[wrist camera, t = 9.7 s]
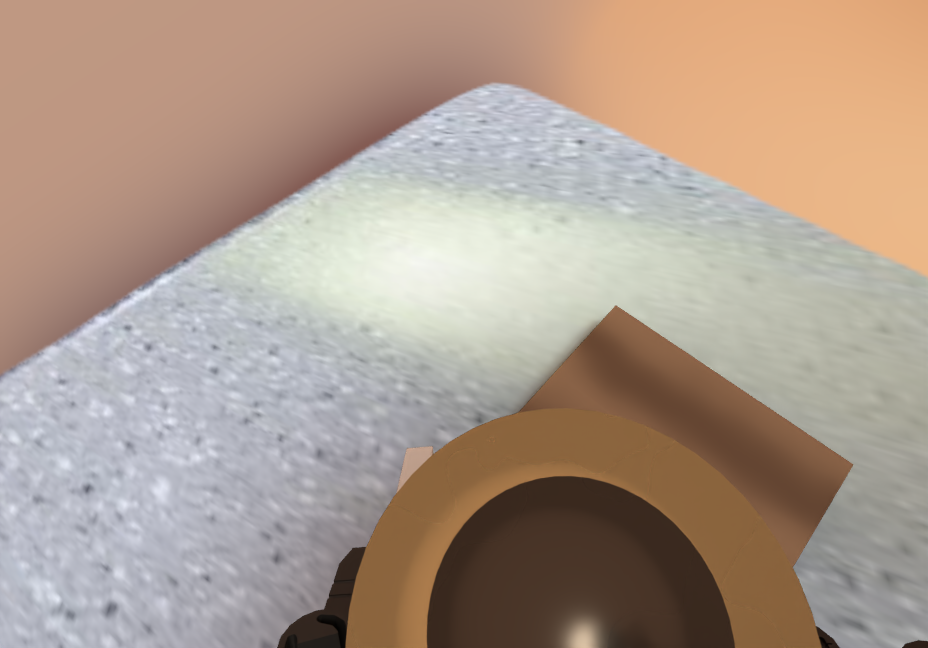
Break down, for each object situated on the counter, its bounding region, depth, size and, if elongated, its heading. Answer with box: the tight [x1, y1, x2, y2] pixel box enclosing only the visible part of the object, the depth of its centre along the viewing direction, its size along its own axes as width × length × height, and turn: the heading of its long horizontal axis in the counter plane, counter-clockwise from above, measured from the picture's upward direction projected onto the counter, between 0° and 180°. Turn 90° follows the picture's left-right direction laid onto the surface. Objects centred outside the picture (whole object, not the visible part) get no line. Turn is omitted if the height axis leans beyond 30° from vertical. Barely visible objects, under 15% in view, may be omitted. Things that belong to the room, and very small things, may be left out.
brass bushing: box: [346, 409, 822, 648], centre depth 12 cm, size 5×5×14 cm
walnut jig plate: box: [518, 306, 853, 568], centre depth 31 cm, size 20×16×3 cm
